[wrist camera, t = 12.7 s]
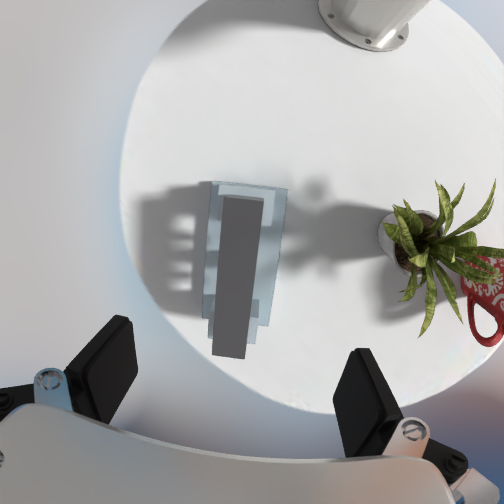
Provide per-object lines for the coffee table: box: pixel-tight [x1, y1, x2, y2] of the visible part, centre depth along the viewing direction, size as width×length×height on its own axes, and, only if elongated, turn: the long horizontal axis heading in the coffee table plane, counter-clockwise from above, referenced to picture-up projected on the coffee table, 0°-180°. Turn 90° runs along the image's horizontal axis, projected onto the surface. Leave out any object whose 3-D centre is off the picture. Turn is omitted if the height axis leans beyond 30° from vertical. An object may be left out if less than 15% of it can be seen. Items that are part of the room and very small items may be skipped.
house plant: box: [377, 179, 504, 338], centre depth 22 cm, size 14×14×16 cm
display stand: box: [202, 181, 288, 344], centre depth 28 cm, size 16×8×7 cm, turn 174°
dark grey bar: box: [212, 194, 264, 359], centre depth 24 cm, size 14×3×4 cm, turn 174°
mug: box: [461, 255, 504, 347], centre depth 25 cm, size 13×9×14 cm
